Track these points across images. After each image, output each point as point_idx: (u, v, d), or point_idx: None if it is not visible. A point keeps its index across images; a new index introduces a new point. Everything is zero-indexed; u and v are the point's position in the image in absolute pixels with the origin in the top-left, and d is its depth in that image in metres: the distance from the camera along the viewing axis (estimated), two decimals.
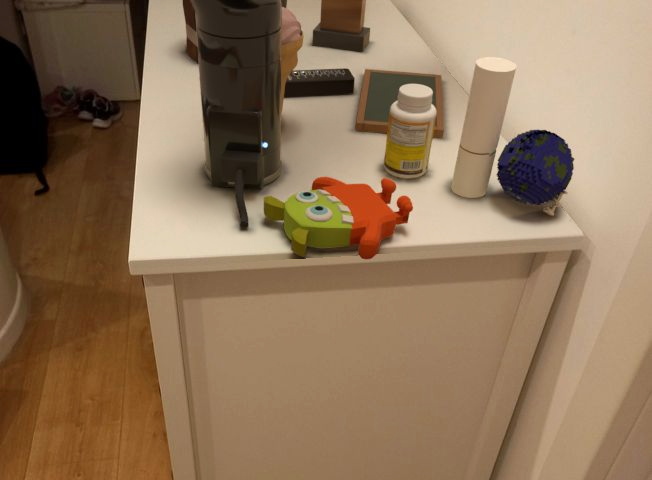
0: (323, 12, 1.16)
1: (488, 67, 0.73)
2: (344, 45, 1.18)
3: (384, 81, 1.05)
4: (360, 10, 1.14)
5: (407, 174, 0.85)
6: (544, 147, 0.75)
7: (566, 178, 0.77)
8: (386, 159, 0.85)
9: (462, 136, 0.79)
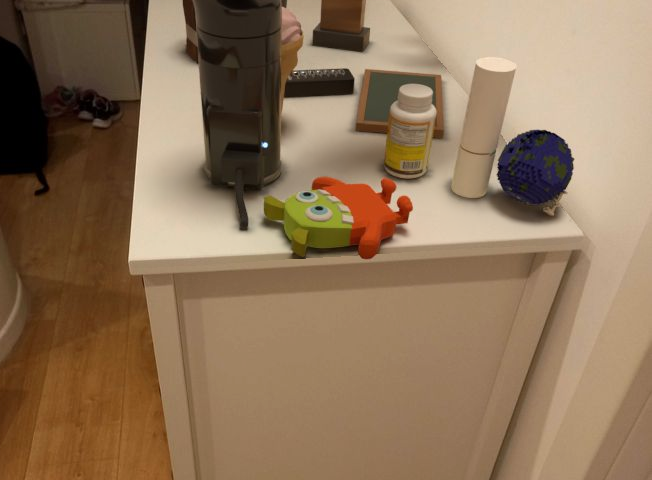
0: (323, 12, 1.16)
1: (488, 67, 0.73)
2: (344, 45, 1.18)
3: (384, 81, 1.05)
4: (360, 10, 1.14)
5: (407, 174, 0.85)
6: (544, 147, 0.75)
7: (566, 178, 0.77)
8: (386, 159, 0.85)
9: (462, 136, 0.79)
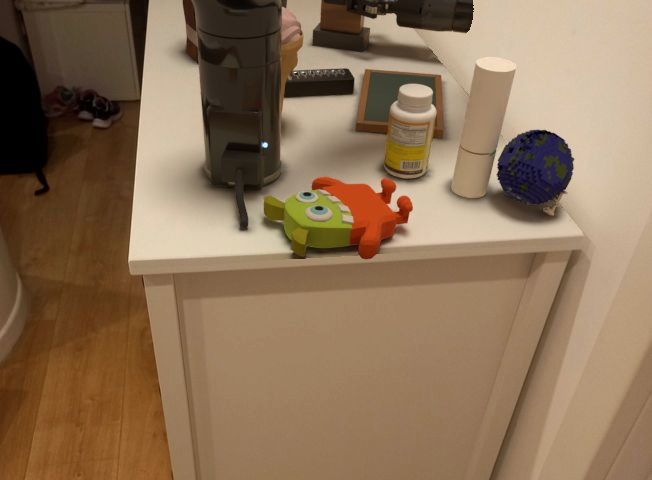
0: (323, 12, 1.16)
1: (488, 67, 0.73)
2: (344, 45, 1.18)
3: (384, 81, 1.05)
4: None
5: (407, 174, 0.85)
6: (544, 147, 0.75)
7: (566, 178, 0.77)
8: (386, 159, 0.85)
9: (462, 136, 0.79)
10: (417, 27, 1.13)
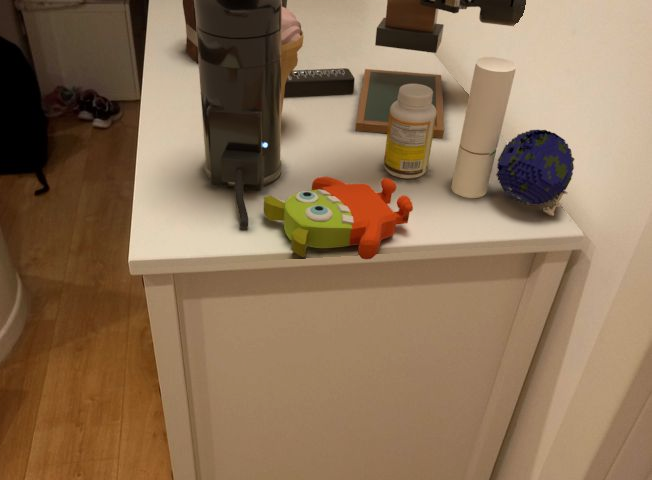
0: (390, 6, 0.98)
1: (488, 67, 0.73)
2: (414, 45, 0.99)
3: (384, 81, 1.05)
4: None
5: (407, 174, 0.85)
6: (544, 147, 0.75)
7: (566, 178, 0.77)
8: (386, 159, 0.85)
9: (462, 136, 0.79)
10: (505, 23, 0.94)
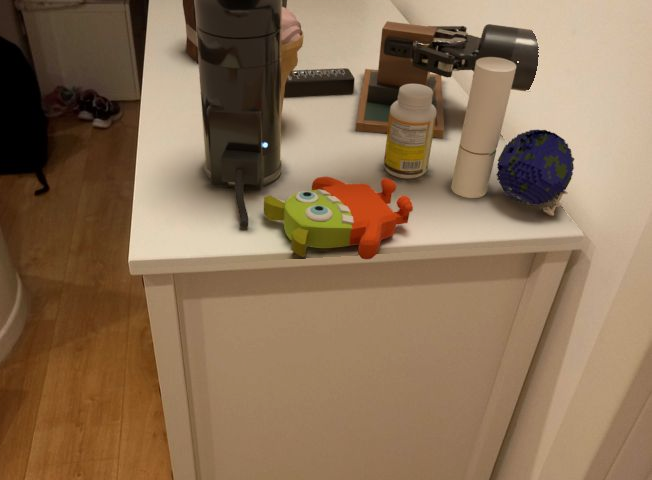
0: (382, 64, 0.96)
1: (488, 67, 0.73)
2: None
3: None
4: None
5: (407, 174, 0.85)
6: (544, 147, 0.75)
7: (566, 178, 0.77)
8: (386, 159, 0.85)
9: (462, 136, 0.79)
10: None
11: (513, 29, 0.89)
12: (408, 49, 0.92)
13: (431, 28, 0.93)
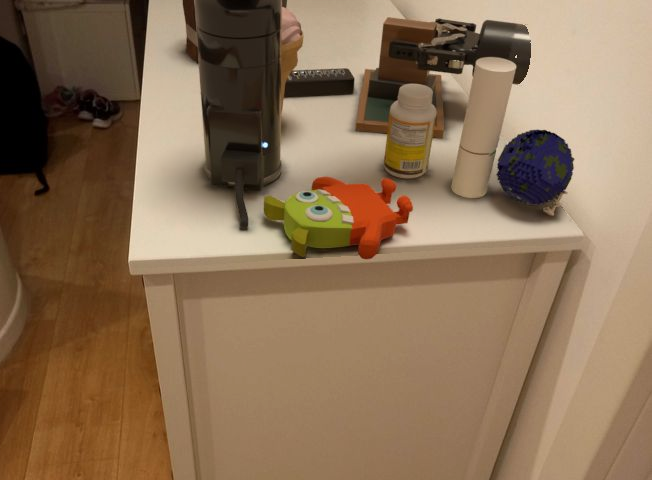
0: (382, 59, 0.98)
1: (488, 67, 0.73)
2: None
3: None
4: None
5: (407, 174, 0.85)
6: (544, 147, 0.75)
7: (566, 178, 0.77)
8: (386, 159, 0.85)
9: (462, 136, 0.79)
10: None
11: (511, 24, 0.91)
12: (413, 52, 0.92)
13: (431, 23, 0.95)
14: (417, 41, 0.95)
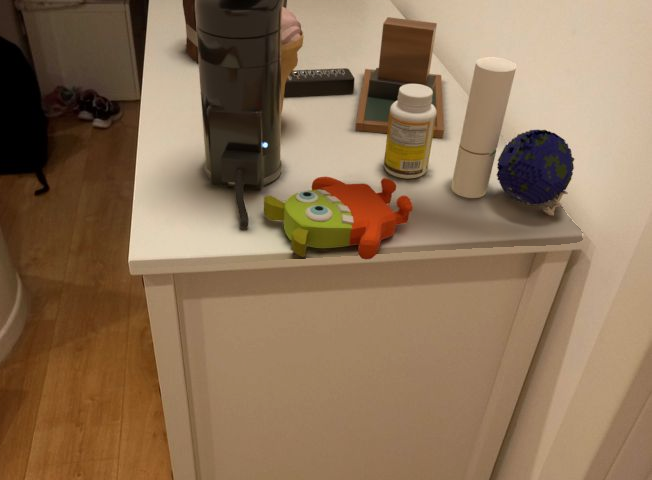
0: (382, 59, 0.98)
1: (488, 67, 0.73)
2: None
3: None
4: (428, 57, 0.96)
5: (407, 174, 0.85)
6: (544, 147, 0.75)
7: (566, 178, 0.77)
8: (386, 159, 0.85)
9: (462, 136, 0.79)
10: None
11: None
12: None
13: (431, 23, 0.95)
14: (417, 41, 0.95)
